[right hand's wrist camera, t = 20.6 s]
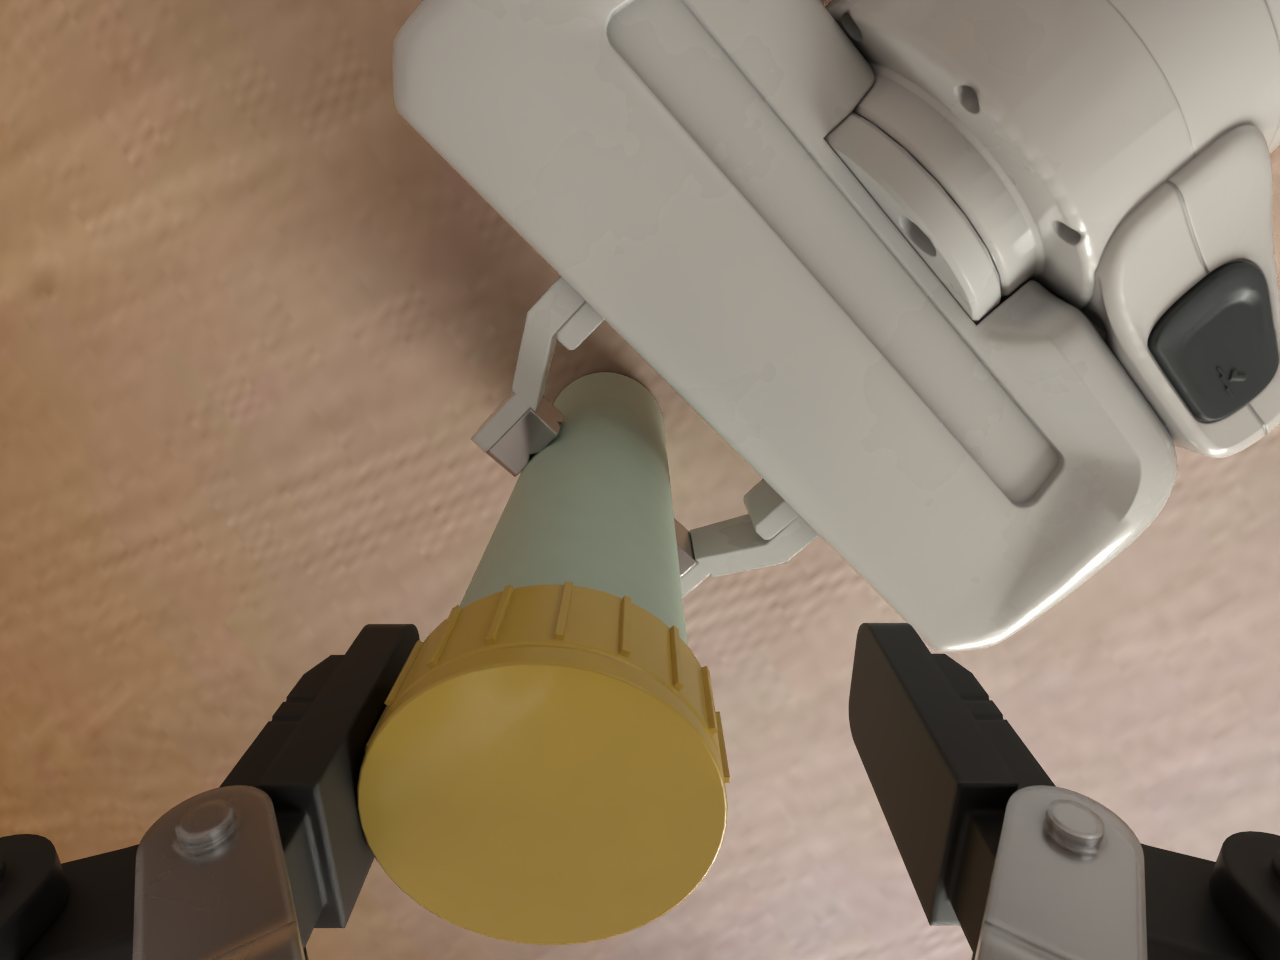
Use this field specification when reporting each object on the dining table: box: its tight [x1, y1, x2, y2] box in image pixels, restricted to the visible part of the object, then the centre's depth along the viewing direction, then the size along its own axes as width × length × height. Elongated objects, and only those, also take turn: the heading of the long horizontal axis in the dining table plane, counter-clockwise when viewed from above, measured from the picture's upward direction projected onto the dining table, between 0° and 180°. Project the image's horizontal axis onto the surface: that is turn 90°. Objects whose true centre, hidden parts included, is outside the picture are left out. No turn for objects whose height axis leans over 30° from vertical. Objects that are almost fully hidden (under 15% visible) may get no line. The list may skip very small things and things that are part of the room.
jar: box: [460, 372, 688, 646], centre depth 17 cm, size 4×4×16 cm
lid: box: [357, 581, 730, 945], centre depth 10 cm, size 5×5×2 cm
